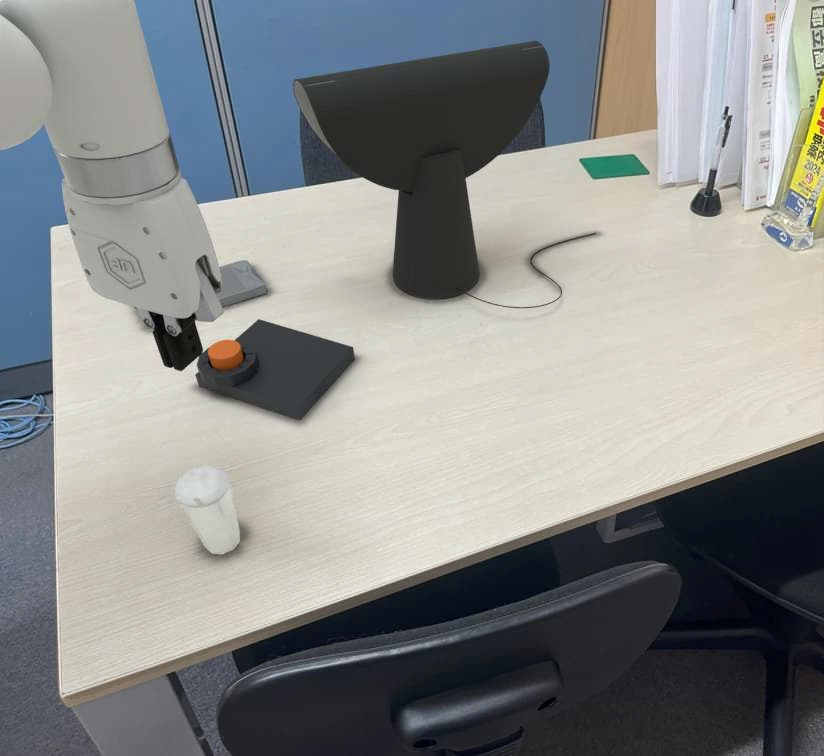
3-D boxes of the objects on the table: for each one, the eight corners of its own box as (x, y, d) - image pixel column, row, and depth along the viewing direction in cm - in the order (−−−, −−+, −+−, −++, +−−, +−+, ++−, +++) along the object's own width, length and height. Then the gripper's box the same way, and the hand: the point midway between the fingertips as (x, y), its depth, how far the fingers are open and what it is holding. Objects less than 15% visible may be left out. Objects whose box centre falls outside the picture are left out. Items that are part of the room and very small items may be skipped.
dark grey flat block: (192, 390, 83) (185, 367, 81) (259, 330, 92) (254, 308, 90) (295, 424, 80) (290, 402, 77) (355, 358, 89) (352, 336, 86)
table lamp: (476, 194, 123) (477, 4, 103) (622, 242, 112) (655, 40, 93) (312, 303, 97) (272, 77, 78) (482, 379, 86) (486, 140, 67)
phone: (269, 293, 99) (267, 285, 98) (149, 330, 92) (146, 322, 91) (248, 266, 104) (246, 258, 103) (133, 299, 97) (130, 291, 96)
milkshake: (196, 573, 65) (166, 503, 58) (199, 526, 69) (170, 456, 62) (248, 562, 66) (224, 493, 59) (247, 517, 70) (225, 447, 63)
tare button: (204, 365, 82) (200, 353, 81) (225, 347, 85) (221, 336, 83) (230, 374, 81) (226, 362, 80) (250, 355, 84) (247, 344, 82)
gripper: (-4, 163, 50) (85, 363, 62) (169, 205, 47) (228, 409, 59) (79, 127, 56) (146, 317, 68) (240, 162, 52) (281, 356, 64)
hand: (184, 359), depth 63 cm, fingers closed
